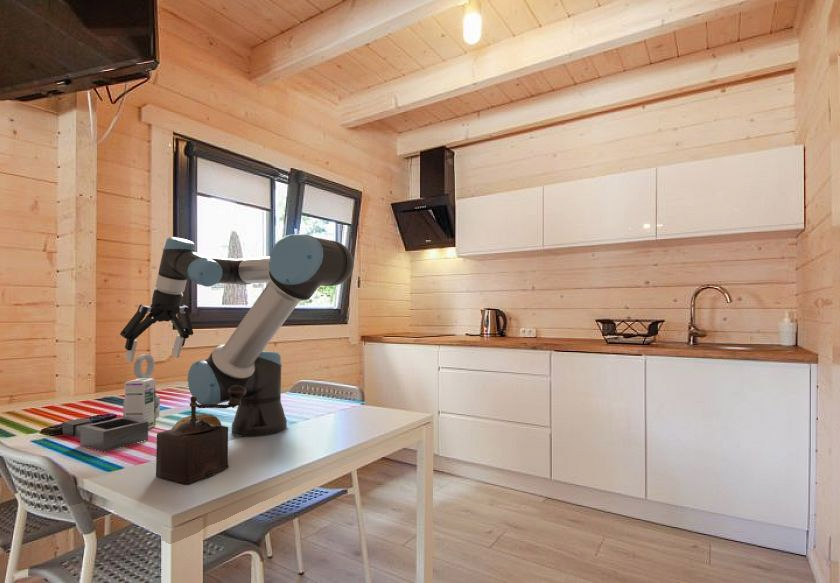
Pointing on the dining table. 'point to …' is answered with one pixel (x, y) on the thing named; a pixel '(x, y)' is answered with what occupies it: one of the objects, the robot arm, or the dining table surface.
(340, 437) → the dining table surface
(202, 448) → the coffee grinder
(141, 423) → the grey storage bin
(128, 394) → the syrup box
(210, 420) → the bread roll
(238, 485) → the dining table surface
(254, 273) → the robot arm
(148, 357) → the engine component
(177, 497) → the dining table surface
